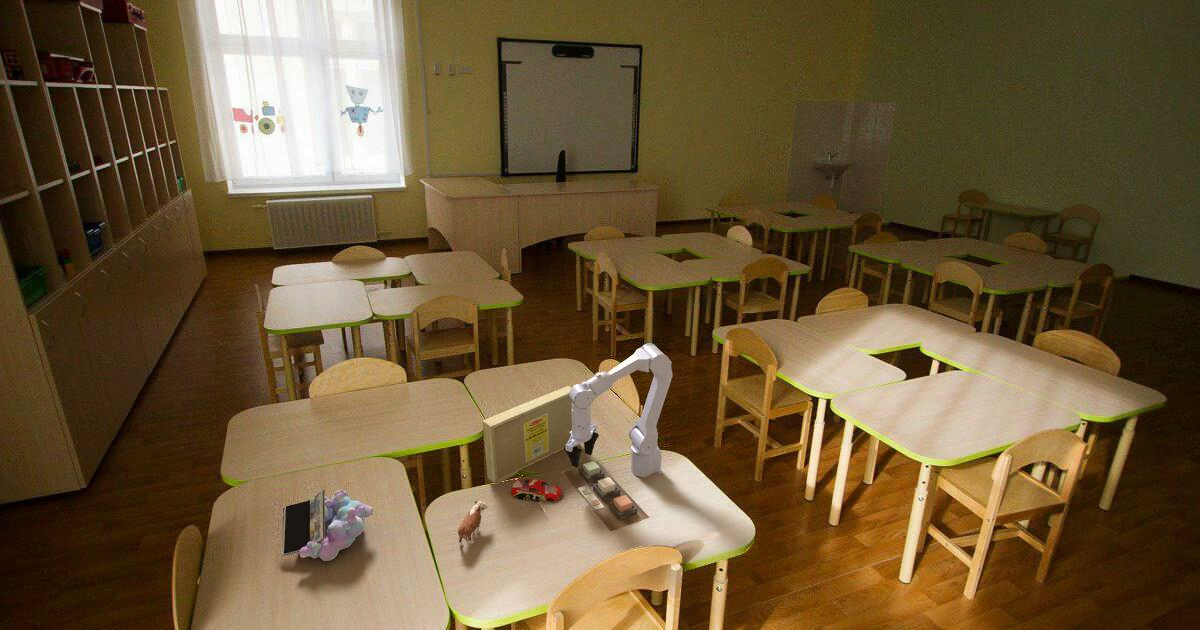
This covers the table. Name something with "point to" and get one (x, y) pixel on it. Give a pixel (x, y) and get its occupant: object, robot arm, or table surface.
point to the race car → (535, 490)
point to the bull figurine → (471, 522)
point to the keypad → (604, 498)
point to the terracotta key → (622, 503)
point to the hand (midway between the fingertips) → (581, 460)
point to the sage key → (591, 468)
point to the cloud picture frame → (322, 525)
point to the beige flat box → (527, 434)
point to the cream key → (606, 485)
